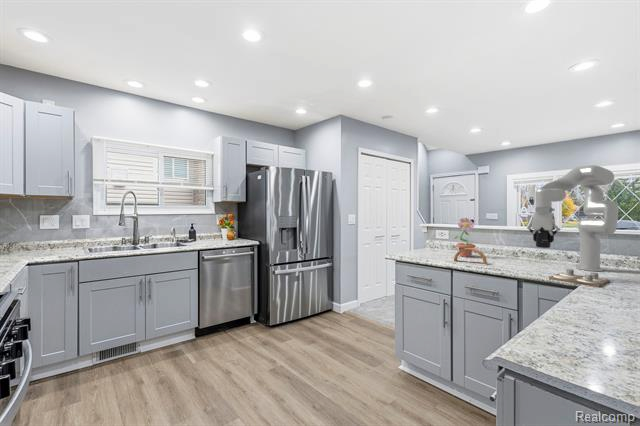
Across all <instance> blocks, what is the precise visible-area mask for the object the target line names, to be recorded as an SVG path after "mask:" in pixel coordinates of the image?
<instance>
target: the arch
mask: <svg viewBox="0 0 640 426" xmlns="http://www.w3.org/2000/svg"><path fill="white" fill-rule="evenodd" d="M465 250H472V252H475V253H476V254H478V255H479V257H481V259H482V261H483V265H484V264H486V263H487V264H488V261H487V258H486V256H485V254H484V253H483V252H482V251H480V250H479V249H477V248H476V247H475V248H465V249H463V250H460V251H459V250H458V252H456V254H455V255H454V257H453V262H457V261H458V257H460V255H459V254H460V253H461V252H462V251H465ZM487 264H486V265H487Z"/></svg>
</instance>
